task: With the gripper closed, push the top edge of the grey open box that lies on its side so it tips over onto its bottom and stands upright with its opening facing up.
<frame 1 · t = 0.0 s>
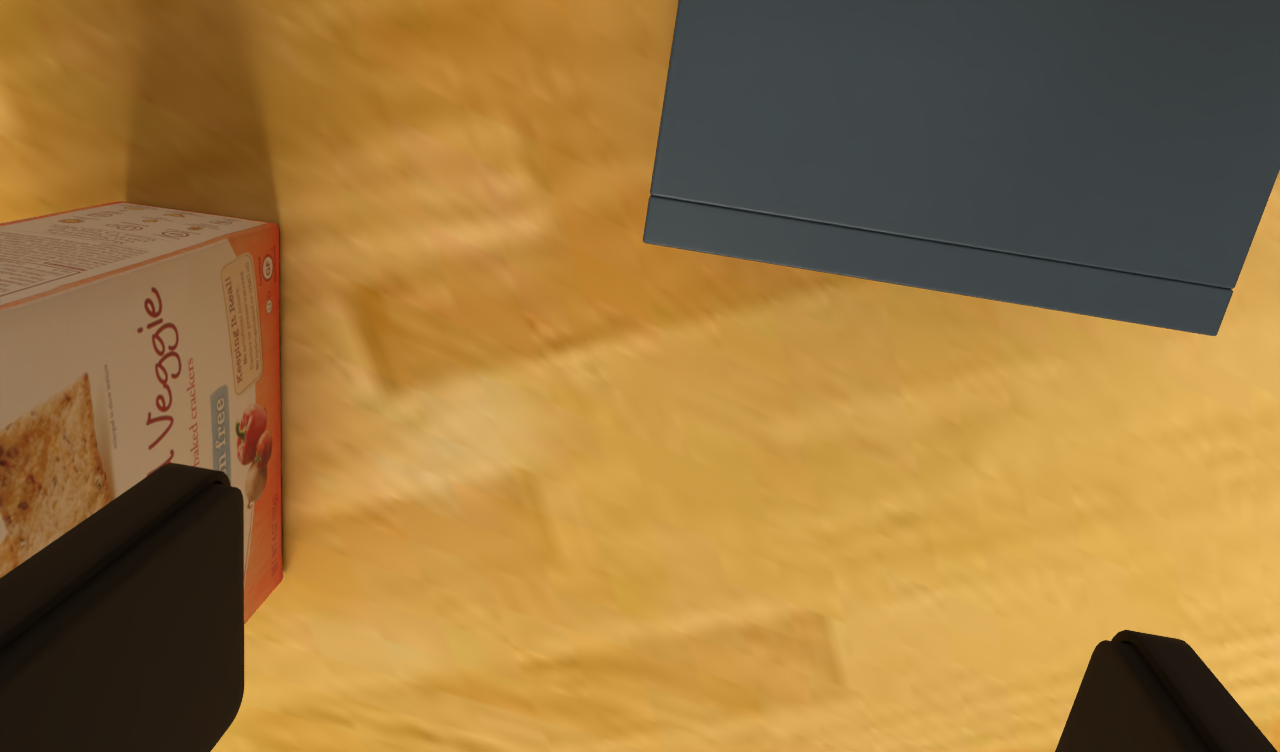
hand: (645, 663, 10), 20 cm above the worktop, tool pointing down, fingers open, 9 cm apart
cracker box: (218, 397, 32), on the worktop
grey open box: (886, 85, 26), on the worktop
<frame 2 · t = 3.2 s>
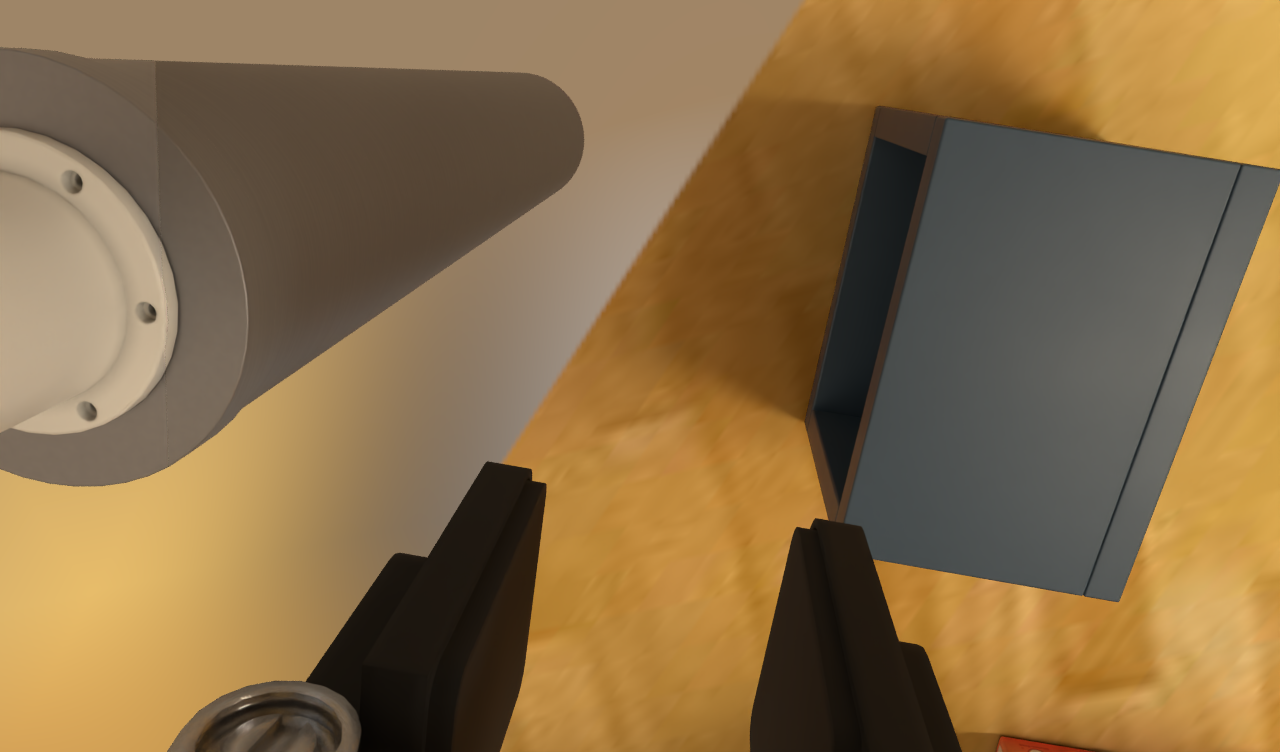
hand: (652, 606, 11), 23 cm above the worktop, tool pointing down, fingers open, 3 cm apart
grey open box: (946, 291, 32), on the worktop
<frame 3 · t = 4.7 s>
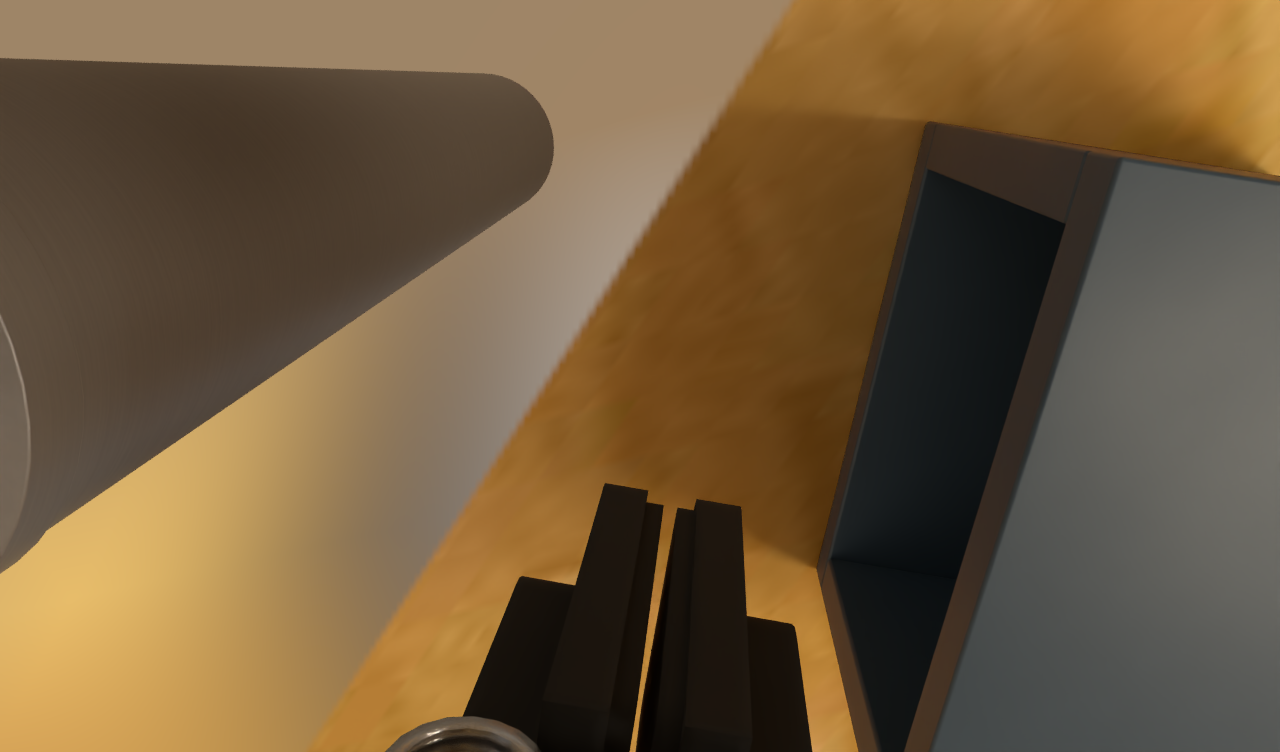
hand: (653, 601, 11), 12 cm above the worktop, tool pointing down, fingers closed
grey open box: (1023, 390, 22), on the worktop
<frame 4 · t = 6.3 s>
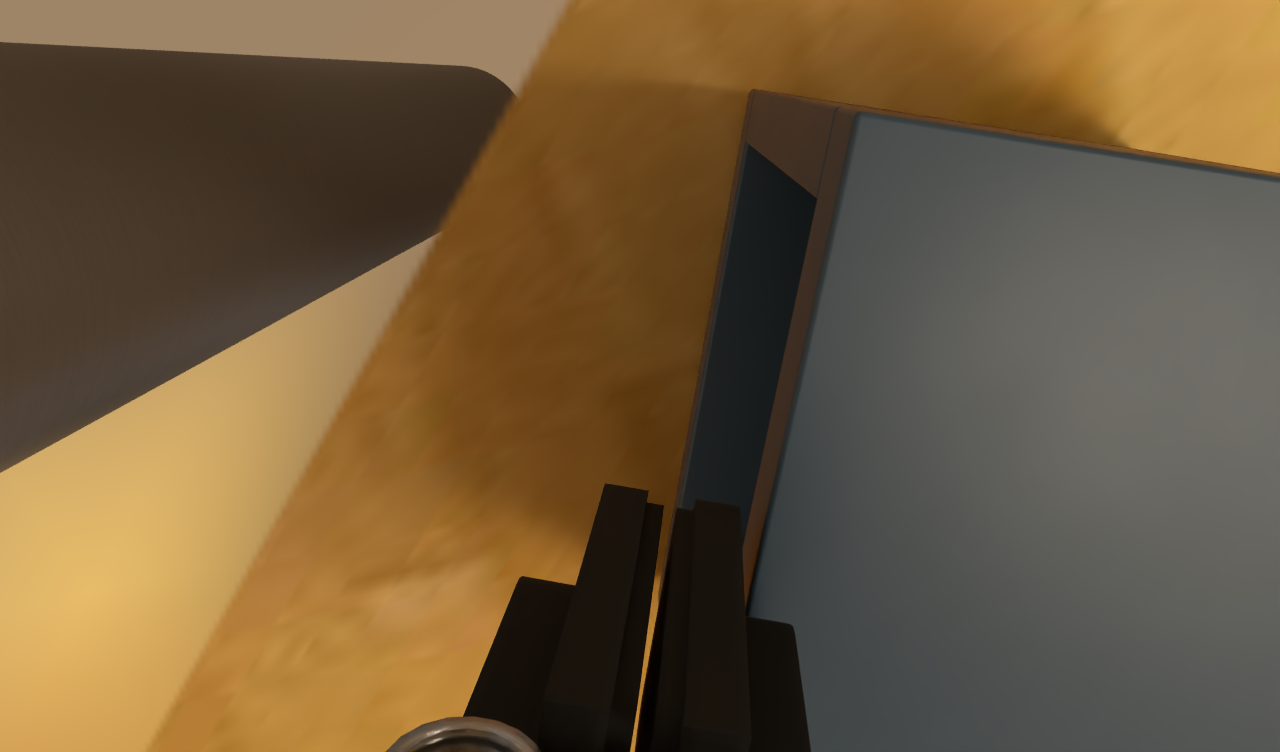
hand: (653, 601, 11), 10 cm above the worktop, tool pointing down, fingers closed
grey open box: (873, 391, 20), on the worktop, touching gripper
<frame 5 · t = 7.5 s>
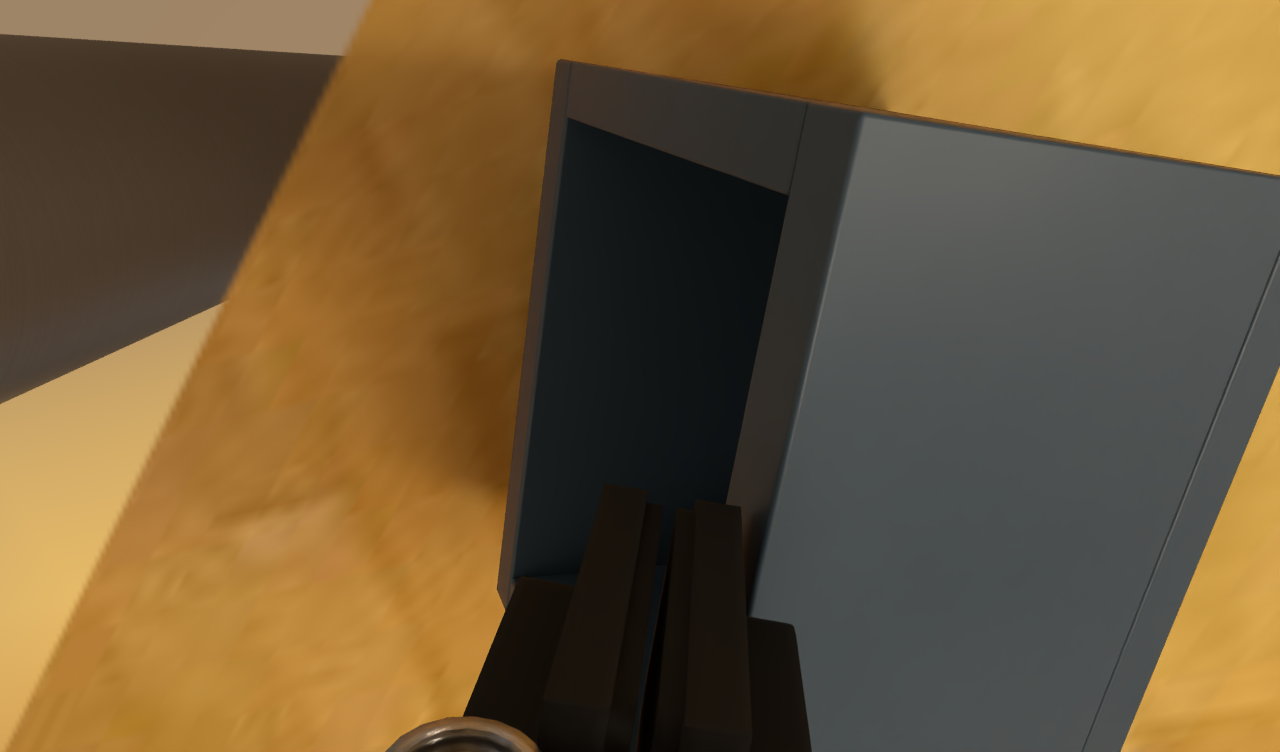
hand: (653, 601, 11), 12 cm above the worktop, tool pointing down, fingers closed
grey open box: (688, 354, 20), point 2 cm above the worktop, tilted 27°, touching gripper
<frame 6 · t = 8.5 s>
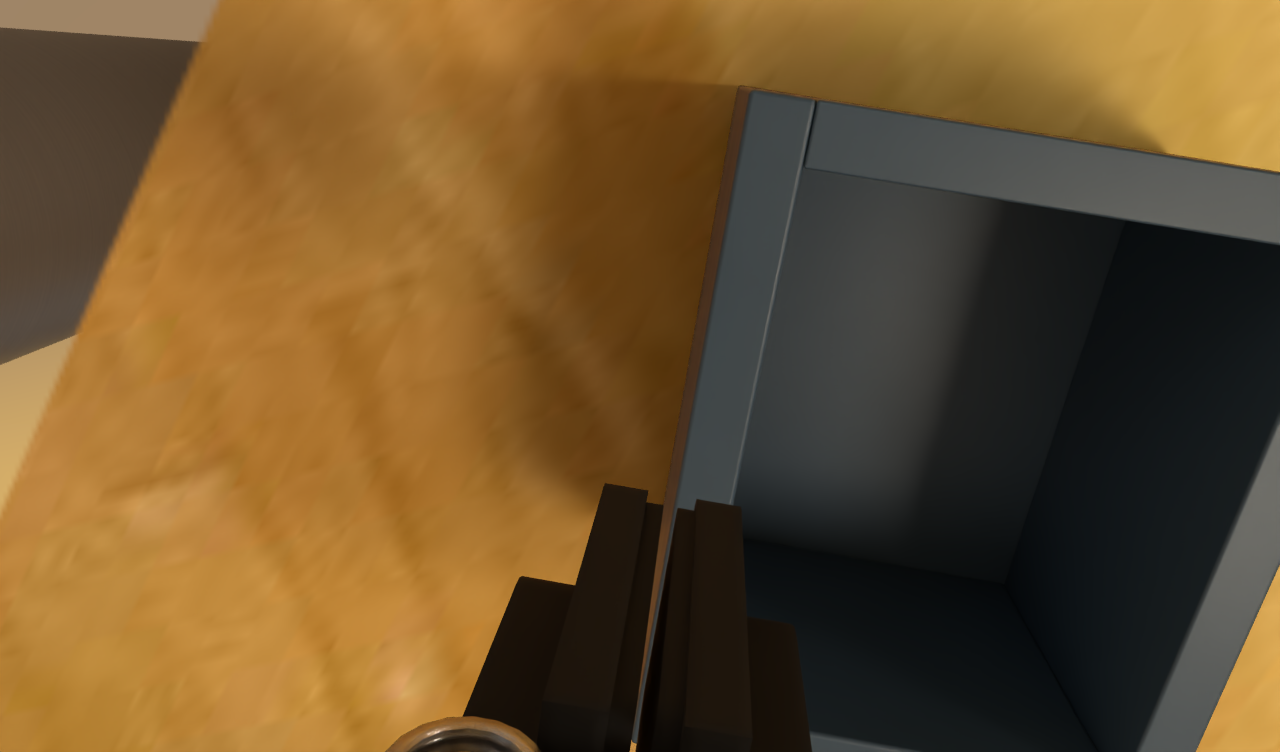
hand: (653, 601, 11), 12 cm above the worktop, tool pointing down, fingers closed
grey open box: (689, 382, 19), point 4 cm above the worktop, tilted 90°
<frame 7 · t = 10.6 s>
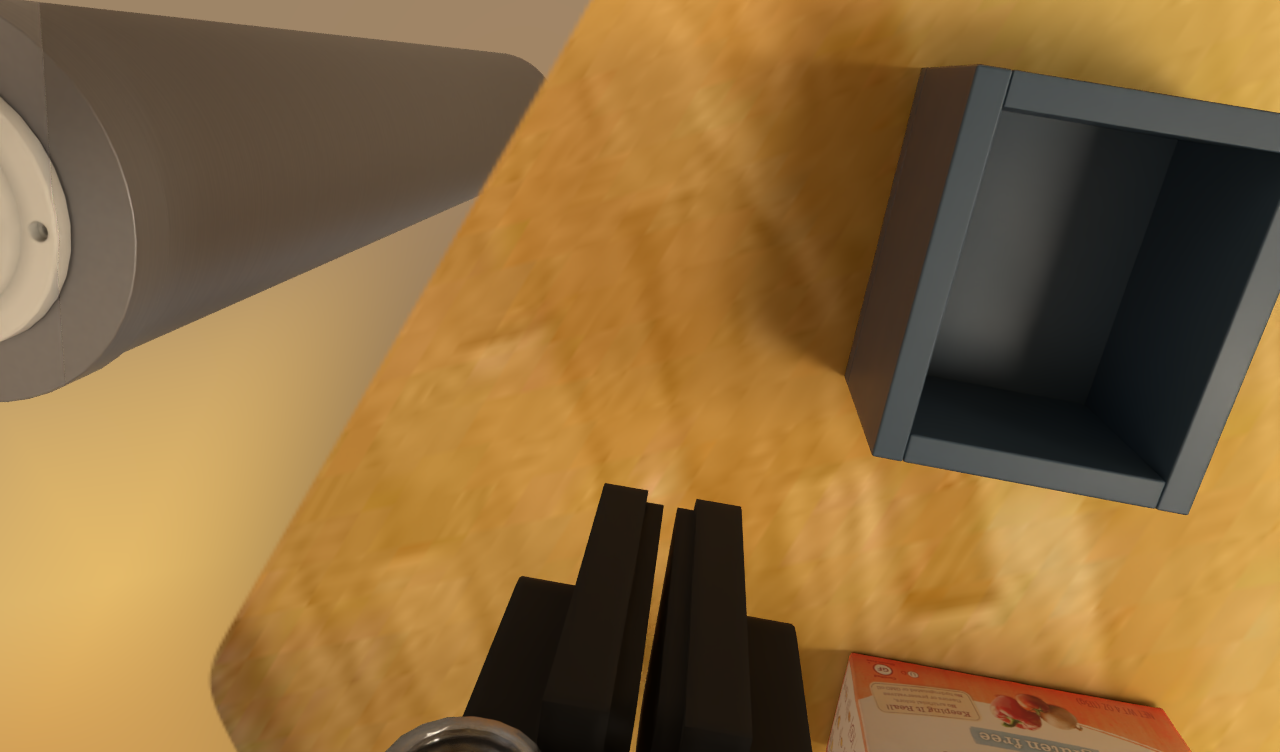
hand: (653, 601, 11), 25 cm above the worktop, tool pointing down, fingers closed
cracker box: (985, 719, 40), on the worktop
grey open box: (897, 250, 30), point 4 cm above the worktop, tilted 90°
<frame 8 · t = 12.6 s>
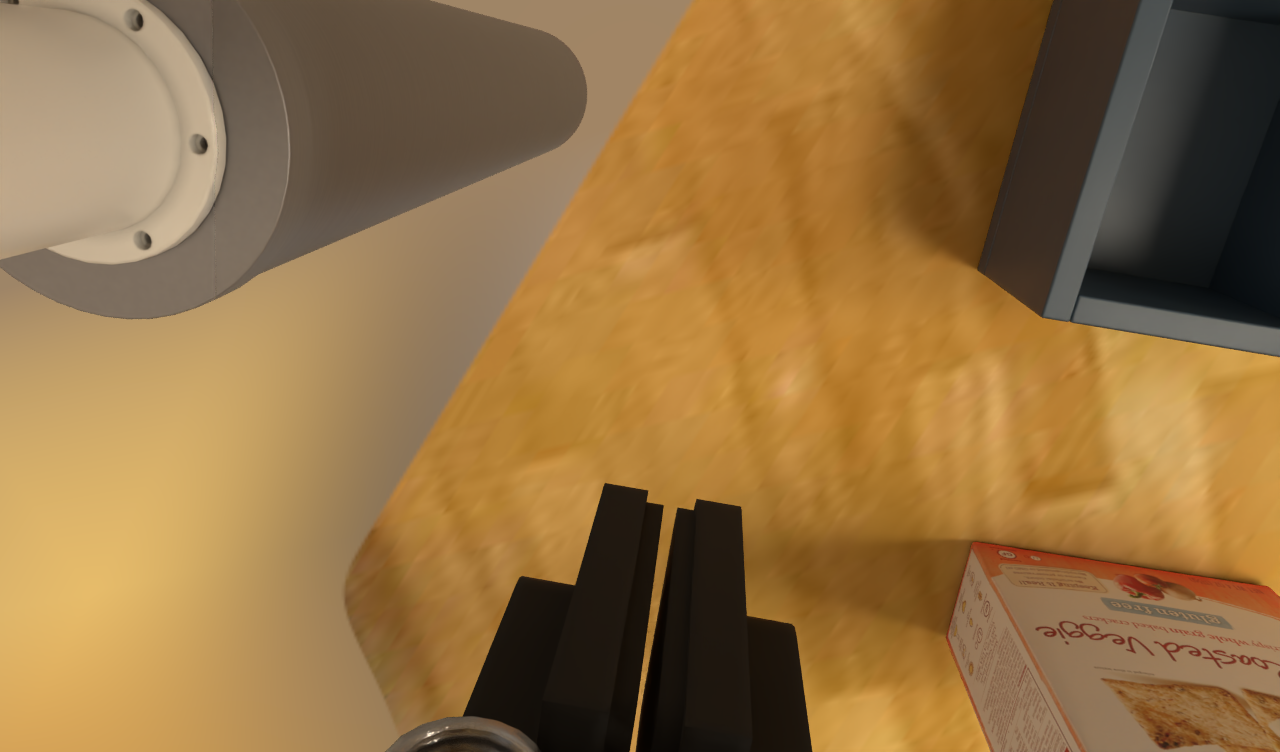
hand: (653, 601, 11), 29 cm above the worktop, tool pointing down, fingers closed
cracker box: (1098, 604, 43), on the worktop
grey open box: (1052, 132, 32), point 4 cm above the worktop, tilted 90°
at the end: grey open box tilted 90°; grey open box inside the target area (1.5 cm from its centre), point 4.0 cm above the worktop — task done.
